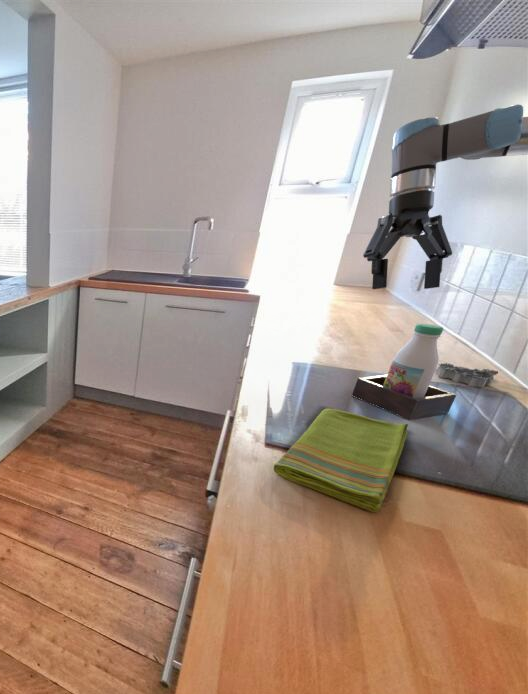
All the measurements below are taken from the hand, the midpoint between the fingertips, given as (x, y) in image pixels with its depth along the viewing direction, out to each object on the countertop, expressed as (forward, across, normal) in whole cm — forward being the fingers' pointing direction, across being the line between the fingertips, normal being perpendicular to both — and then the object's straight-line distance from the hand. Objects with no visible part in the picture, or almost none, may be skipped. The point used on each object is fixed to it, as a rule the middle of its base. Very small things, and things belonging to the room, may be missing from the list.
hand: (405, 288), depth 97 cm
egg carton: (+24, -34, -14) cm, 44 cm away
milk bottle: (+28, -2, -2) cm, 28 cm away
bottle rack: (+28, -2, -2) cm, 28 cm away
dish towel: (+34, +30, +16) cm, 48 cm away
